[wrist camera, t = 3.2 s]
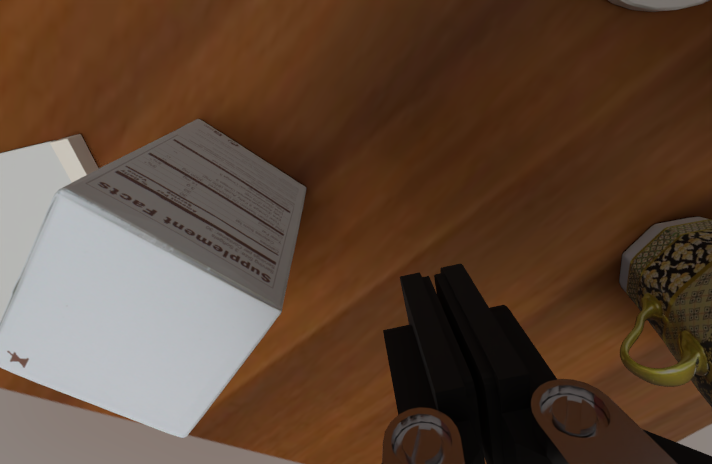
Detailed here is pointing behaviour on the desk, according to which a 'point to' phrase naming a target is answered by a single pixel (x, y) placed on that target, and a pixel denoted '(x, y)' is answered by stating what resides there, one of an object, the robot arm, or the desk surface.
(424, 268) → the desk surface
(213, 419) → the desk surface
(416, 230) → the desk surface
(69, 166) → the strip
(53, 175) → the mat
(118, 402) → the supplement box
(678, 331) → the ceramic cup
